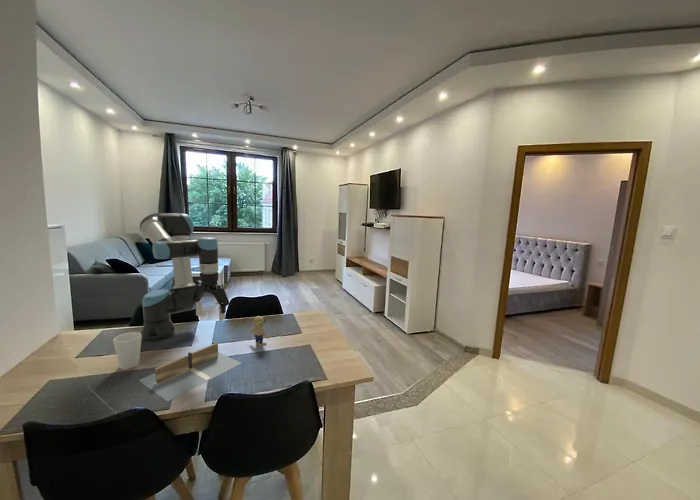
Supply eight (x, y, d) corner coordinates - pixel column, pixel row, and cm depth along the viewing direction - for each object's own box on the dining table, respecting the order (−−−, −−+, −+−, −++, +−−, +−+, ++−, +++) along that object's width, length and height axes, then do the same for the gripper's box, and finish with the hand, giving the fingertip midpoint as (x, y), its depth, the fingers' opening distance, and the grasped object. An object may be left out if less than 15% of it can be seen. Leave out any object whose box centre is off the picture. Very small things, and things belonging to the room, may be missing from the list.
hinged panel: (188, 367, 122) (187, 353, 121) (216, 354, 133) (216, 341, 132) (189, 368, 122) (188, 354, 121) (218, 355, 133) (217, 342, 132)
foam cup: (120, 361, 126) (117, 333, 124) (145, 358, 130) (143, 330, 128) (112, 373, 117) (109, 343, 115) (140, 369, 121) (137, 340, 119)
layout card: (138, 381, 113) (138, 380, 113) (211, 349, 139) (211, 348, 139) (167, 402, 102) (167, 401, 102) (241, 364, 128) (241, 363, 128)
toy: (273, 344, 146) (273, 316, 144) (265, 349, 141) (265, 320, 139) (254, 339, 151) (253, 312, 149) (246, 343, 146) (245, 315, 144)
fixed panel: (156, 382, 112) (155, 368, 111) (187, 368, 122) (186, 355, 121) (157, 384, 111) (156, 369, 110) (188, 369, 121) (188, 356, 120)
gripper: (181, 270, 130) (183, 315, 133) (224, 277, 121) (225, 325, 124) (195, 267, 137) (196, 310, 140) (237, 273, 128) (238, 319, 131)
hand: (210, 317), depth 132 cm, fingers open, 13 cm apart
